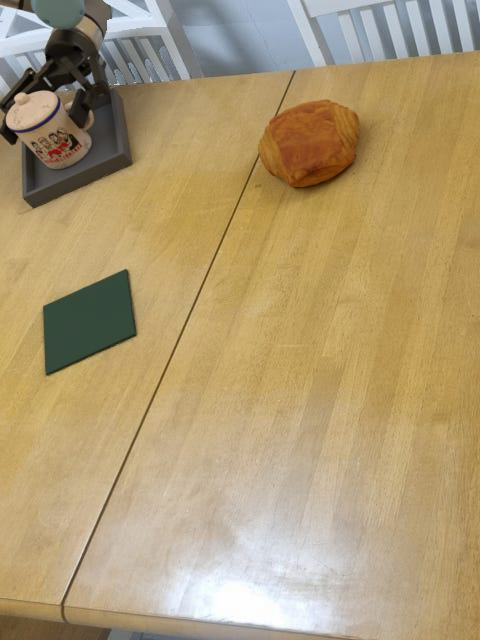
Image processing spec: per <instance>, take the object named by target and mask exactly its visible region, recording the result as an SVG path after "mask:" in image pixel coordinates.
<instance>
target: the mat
mask: <svg viewBox="0 0 480 640" xmlns="http://www.w3.org/2000/svg"><path fill="white" fill-rule="evenodd" d="M129 277H130V276H129V272H128V269H127V268H124V269H121V270H119V271H118V272H117V271H116V273H113V274H111V275H109V276H106V277H105V278H102V279H100V280H97V281H95V282H93V283H91V284H88V285H87V286H85V287H81V288H80V289H78V290H75V291H73V292H72V293H69V294H66V295H64V296H62V297H59V298H58V299H55V300H53V301H51V302H49V303H46V304H44V305H43V306H42V315H43V316H42V321H43V343H44V345H43V346H44V347H43V348H44V372H45V373H44V374H45V376H50V375H52V374H54V373H56V372H59V371H61V370H63V369H65V368H67V367H70V366H72V365H75V364H76V363H79V362H81V361H84V360H85V359H87V358H89V357H91V356H94V355H96V354H98V353H101V352H103V351H104V350H107V349H110V348H111V347H114V346H116V345H118V344H120V343H122V342H125V341H127V340H129V339H131V338H133V337H136V336H137V331H136V323H135V316H134V308H133V300H132V299H133V298H132V293H131V286H130V278H129Z"/></svg>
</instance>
